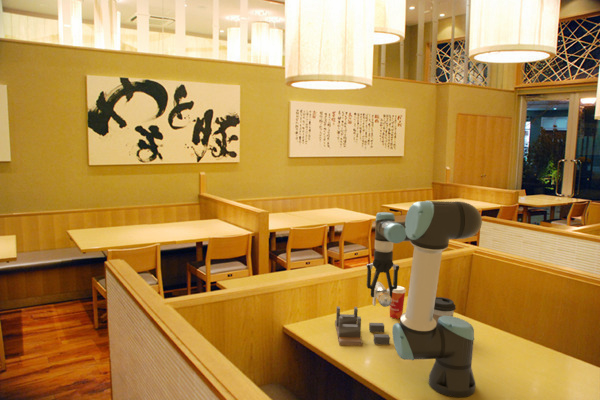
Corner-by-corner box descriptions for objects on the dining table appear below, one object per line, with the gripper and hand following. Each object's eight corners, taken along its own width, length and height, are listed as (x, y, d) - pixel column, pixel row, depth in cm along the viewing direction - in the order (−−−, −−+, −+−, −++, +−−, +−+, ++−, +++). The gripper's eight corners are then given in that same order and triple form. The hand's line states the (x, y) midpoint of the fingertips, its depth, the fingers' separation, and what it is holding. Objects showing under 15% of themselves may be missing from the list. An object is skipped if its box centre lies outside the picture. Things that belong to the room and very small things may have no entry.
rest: (389, 344, 194) (389, 337, 194) (374, 344, 194) (375, 337, 194) (382, 329, 209) (383, 323, 209) (369, 329, 209) (369, 322, 208)
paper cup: (384, 314, 226) (385, 286, 224) (397, 312, 230) (399, 284, 228) (394, 320, 219) (395, 291, 217) (407, 318, 223) (409, 289, 221)
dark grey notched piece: (361, 345, 192) (362, 322, 191) (339, 344, 192) (340, 322, 191) (354, 323, 214) (355, 303, 213) (334, 323, 214) (335, 303, 213)
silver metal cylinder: (391, 306, 190) (392, 294, 190) (378, 307, 190) (379, 294, 189) (383, 292, 208) (383, 281, 207) (371, 293, 208) (371, 281, 207)
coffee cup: (459, 337, 203) (462, 303, 201) (437, 341, 199) (439, 306, 196) (442, 327, 213) (444, 295, 211) (420, 330, 209) (423, 297, 207)
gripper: (403, 248, 200) (400, 302, 203) (360, 247, 200) (358, 301, 203) (407, 252, 193) (404, 308, 196) (363, 251, 193) (360, 307, 195)
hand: (380, 304), depth 199 cm, fingers closed on silver metal cylinder, 5 cm apart
